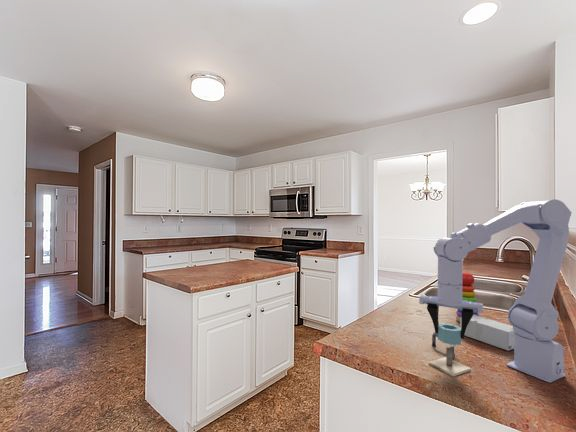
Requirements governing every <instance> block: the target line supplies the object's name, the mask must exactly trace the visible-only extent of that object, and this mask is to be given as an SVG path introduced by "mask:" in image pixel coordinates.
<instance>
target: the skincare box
mask: <svg viewBox="0 0 576 432" xmlns="http://www.w3.org/2000/svg"><path fill="white" fill-rule="evenodd" d="M459 323H460V324H459V327H460V328H462V317H461V318H460V322H459ZM464 337H469V338H471V339H474V340H477V341H480V342H481V343H485V344H488V345H490V346H494V347H497V348H499V349H502V350H505V351H507V352H508V351H511V350H514V330H513V325H510V324H506V323H504V322H500V321H497V320H494V319H490V318H486V317H482V316H480V315H479V316H476V315H473V316H472V318H471V320H470V321H469V323H468V325H467V328H466V331H465V334H464Z"/></svg>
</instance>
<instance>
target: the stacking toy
mask: <svg viewBox="0 0 576 432" xmlns="http://www.w3.org/2000/svg"><path fill="white" fill-rule="evenodd" d="M474 283H475V277H474V275H473V274H472V273H470V272H462V300H466V301H471V302H477V297H475V296H476V292H475V286H474V285H473V284H474ZM473 315H476V316H479V317H480V313H479V312H477V311H473ZM461 317H462V309H456V316H455V320H456V321H457V322H459V323H460V318H461Z"/></svg>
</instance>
